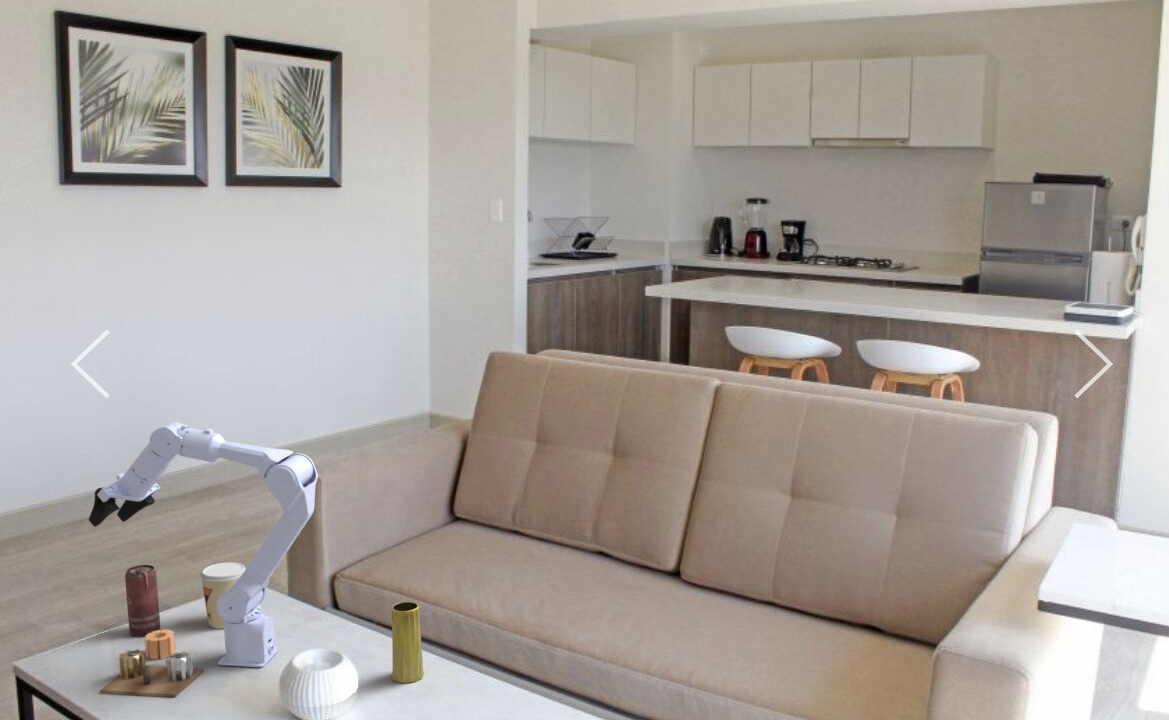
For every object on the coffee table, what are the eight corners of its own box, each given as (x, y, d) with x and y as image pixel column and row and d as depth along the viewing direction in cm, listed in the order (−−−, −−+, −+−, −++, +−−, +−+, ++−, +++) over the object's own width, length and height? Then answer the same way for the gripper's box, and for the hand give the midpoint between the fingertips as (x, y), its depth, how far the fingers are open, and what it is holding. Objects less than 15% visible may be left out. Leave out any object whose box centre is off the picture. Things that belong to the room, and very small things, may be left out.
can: (140, 640, 226) (135, 576, 223) (124, 632, 229) (118, 569, 227) (166, 630, 230) (162, 568, 228) (150, 623, 234) (145, 561, 232)
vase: (397, 686, 204) (394, 614, 202) (387, 673, 209) (384, 603, 207) (428, 679, 207) (425, 608, 204) (417, 666, 212) (415, 597, 210)
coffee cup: (206, 615, 238) (203, 563, 236) (250, 611, 240) (247, 560, 238) (202, 632, 229) (198, 578, 227) (248, 628, 231) (244, 574, 230)
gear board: (203, 671, 211) (202, 652, 210) (175, 697, 200) (173, 678, 200) (132, 667, 213) (130, 649, 212) (100, 693, 202) (98, 673, 202)
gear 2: (197, 671, 210) (195, 650, 209) (185, 682, 205) (184, 660, 204) (175, 670, 210) (173, 649, 209) (162, 680, 206) (161, 659, 205)
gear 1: (150, 669, 211) (148, 648, 210) (137, 680, 206) (136, 658, 205) (128, 668, 211) (126, 647, 210) (115, 678, 207) (113, 657, 206)
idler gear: (180, 648, 221) (178, 630, 221) (166, 660, 216) (165, 641, 215) (155, 647, 222) (153, 629, 221) (141, 658, 217) (139, 640, 216)
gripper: (158, 455, 221) (121, 502, 224) (105, 460, 207) (67, 510, 210) (179, 479, 219) (141, 526, 222) (127, 486, 205) (88, 536, 208)
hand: (107, 520), depth 216 cm, fingers open, 7 cm apart
